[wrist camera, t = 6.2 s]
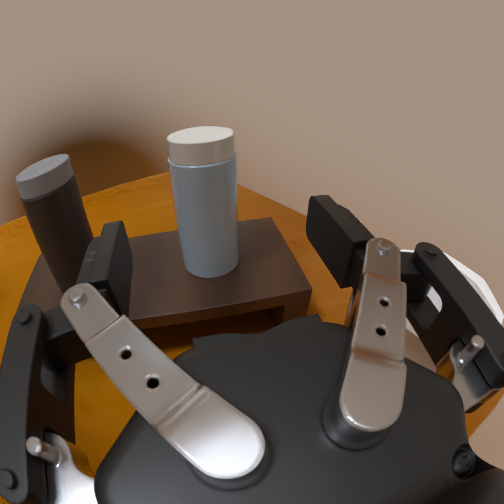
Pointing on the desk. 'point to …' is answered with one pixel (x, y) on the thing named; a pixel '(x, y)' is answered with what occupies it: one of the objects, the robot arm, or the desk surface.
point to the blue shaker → (205, 198)
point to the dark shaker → (56, 216)
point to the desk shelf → (199, 281)
